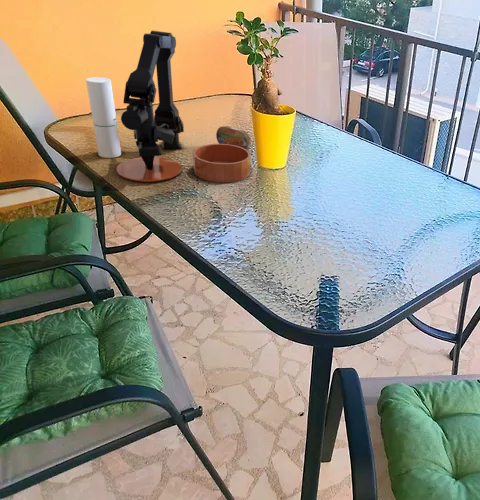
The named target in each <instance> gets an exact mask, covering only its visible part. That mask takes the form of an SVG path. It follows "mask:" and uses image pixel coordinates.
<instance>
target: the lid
mask: <svg viewBox="0 0 480 500" xmlns="http://www.w3.org/2000/svg"><path fill="white" fill-rule="evenodd" d="M181 172H182V165H181V164H180V163H179V162H177V161H176V160H174V159H170V158H168V157H162V156H161V157H160V156H154V161H153V167H152V170H148V168H147V166H146V164H145V163H144V161H143V159H142V158H141V156H139V157H135V158H130V159H126V160H124V161H122V162H120V163H119V164H118V165H117V166H116V173H117V174H118V176H120V177H122V178H124V179H127V180H130V181H136V182H159V181H161V182H162V181H165V180H170V179H173V178H174V177H176V176H178V175H179V174H180V173H181Z"/></svg>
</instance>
